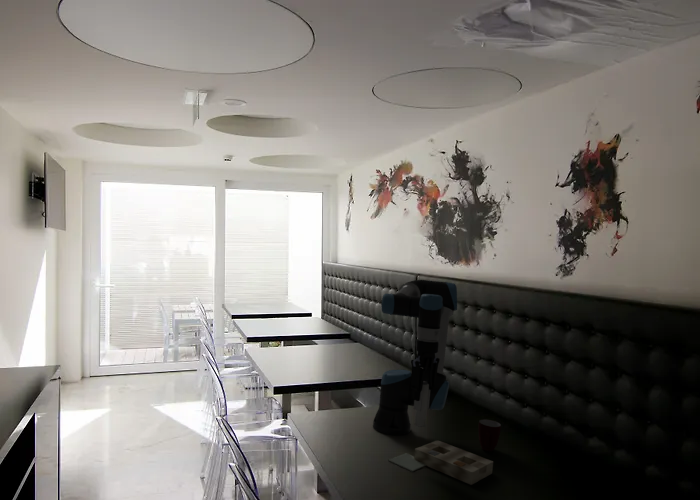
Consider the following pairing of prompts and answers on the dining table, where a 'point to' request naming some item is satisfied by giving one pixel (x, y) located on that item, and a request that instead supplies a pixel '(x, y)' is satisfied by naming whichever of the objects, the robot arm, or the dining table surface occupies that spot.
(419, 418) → the plug
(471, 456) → the socket block
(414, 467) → the pad
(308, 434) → the dining table surface
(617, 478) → the dining table surface
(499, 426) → the mug
